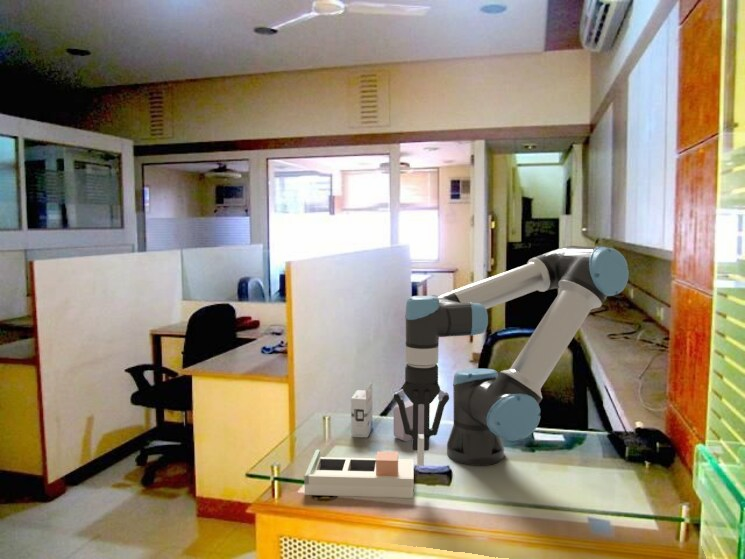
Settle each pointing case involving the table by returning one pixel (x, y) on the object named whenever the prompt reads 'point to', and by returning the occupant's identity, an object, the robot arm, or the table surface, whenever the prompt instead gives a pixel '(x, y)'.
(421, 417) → the electronic device
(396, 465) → the terracotta block
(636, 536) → the table surface
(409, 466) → the tray
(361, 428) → the ink box
